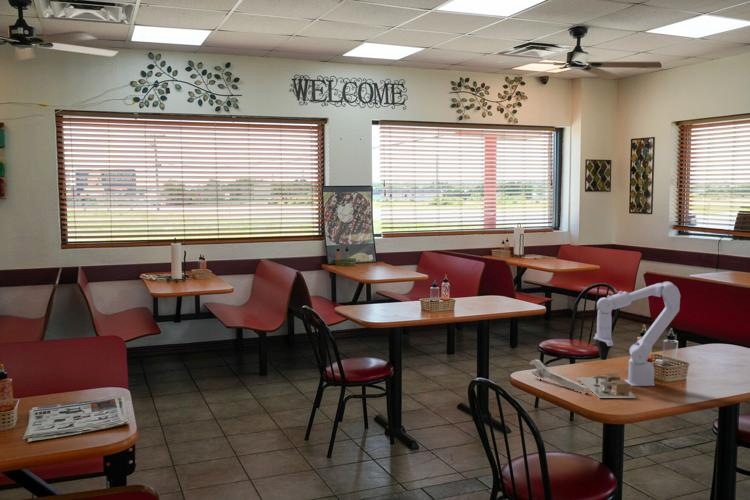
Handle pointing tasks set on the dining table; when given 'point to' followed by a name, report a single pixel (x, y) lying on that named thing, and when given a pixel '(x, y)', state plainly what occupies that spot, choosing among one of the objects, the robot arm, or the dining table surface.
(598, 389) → the gauge plate
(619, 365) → the dining table surface
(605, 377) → the slider
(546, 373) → the wrench
